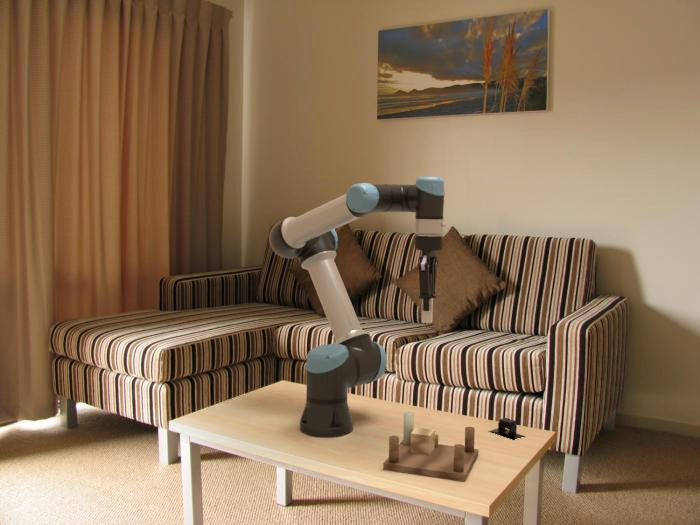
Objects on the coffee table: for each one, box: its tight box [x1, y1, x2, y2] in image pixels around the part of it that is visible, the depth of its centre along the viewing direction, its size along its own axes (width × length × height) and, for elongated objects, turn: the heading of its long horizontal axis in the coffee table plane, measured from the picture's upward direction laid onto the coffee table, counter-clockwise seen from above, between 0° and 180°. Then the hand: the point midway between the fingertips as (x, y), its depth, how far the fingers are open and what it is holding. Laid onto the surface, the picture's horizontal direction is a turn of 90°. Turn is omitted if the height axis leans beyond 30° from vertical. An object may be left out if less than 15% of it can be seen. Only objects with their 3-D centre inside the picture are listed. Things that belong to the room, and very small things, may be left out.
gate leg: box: [402, 411, 415, 445], centre depth 186 cm, size 6×3×8 cm, turn 76°
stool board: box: [382, 426, 479, 483], centre depth 178 cm, size 20×18×8 cm
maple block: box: [411, 427, 436, 455], centre depth 181 cm, size 5×5×5 cm
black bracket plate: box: [487, 417, 527, 441], centre depth 200 cm, size 12×7×5 cm, turn 38°
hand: (426, 322), depth 192 cm, fingers closed
